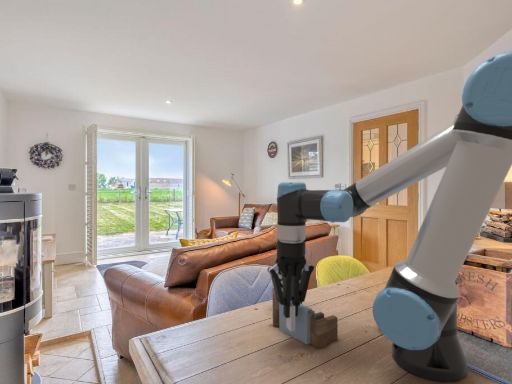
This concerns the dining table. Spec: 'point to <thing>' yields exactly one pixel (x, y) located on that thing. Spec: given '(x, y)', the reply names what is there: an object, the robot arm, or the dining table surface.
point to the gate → (298, 323)
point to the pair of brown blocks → (314, 326)
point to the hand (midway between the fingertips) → (290, 328)
